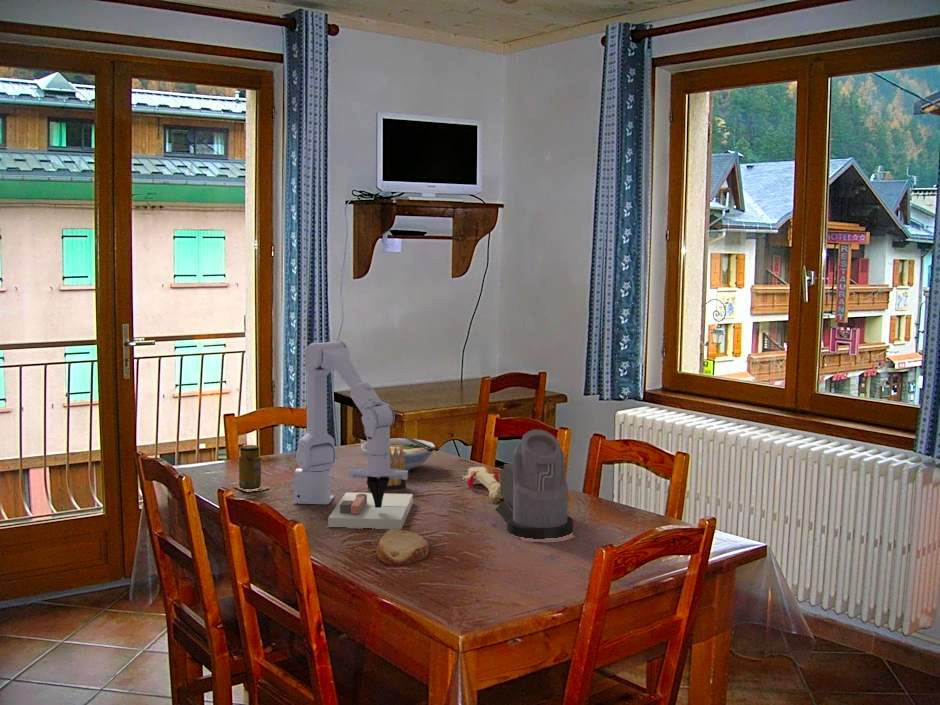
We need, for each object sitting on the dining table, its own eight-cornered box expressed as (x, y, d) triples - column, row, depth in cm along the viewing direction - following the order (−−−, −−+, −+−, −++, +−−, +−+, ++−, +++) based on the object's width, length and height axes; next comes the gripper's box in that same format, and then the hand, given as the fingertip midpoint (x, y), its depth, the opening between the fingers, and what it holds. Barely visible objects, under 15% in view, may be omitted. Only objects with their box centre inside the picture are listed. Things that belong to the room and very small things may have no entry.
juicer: (584, 540, 238) (586, 439, 235) (519, 545, 234) (521, 442, 231) (544, 507, 267) (546, 416, 264) (486, 510, 263) (487, 418, 260)
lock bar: (357, 501, 260) (357, 493, 260) (367, 501, 260) (367, 493, 260) (349, 513, 249) (349, 505, 248) (360, 513, 248) (360, 505, 248)
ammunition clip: (369, 492, 280) (369, 449, 279) (367, 490, 282) (367, 448, 281) (405, 488, 285) (405, 446, 283) (403, 486, 286) (403, 445, 285)
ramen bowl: (349, 464, 314) (349, 438, 313) (417, 457, 323) (417, 432, 322) (376, 482, 291) (376, 454, 290) (448, 475, 301) (448, 448, 300)
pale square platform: (328, 527, 246) (328, 508, 246) (346, 501, 270) (346, 484, 269) (401, 529, 245) (401, 510, 245) (412, 503, 269) (412, 486, 268)
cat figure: (519, 506, 272) (489, 477, 296) (520, 475, 271) (490, 448, 294) (484, 509, 269) (456, 479, 292) (485, 477, 268) (457, 450, 291)
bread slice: (399, 535, 242) (399, 520, 241) (454, 551, 230) (454, 535, 229) (342, 552, 229) (342, 536, 228) (397, 570, 217) (397, 553, 216)
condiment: (255, 484, 288) (255, 443, 287) (270, 490, 282) (269, 448, 280) (232, 487, 284) (231, 446, 282) (246, 494, 277) (245, 451, 276)
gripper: (346, 456, 246) (346, 510, 248) (405, 457, 245) (405, 511, 247) (351, 450, 253) (351, 502, 255) (408, 451, 252) (408, 504, 254)
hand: (378, 506), depth 251 cm, fingers closed
